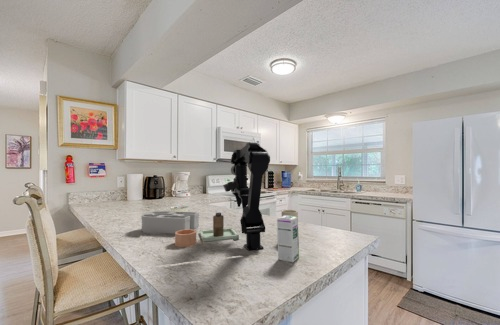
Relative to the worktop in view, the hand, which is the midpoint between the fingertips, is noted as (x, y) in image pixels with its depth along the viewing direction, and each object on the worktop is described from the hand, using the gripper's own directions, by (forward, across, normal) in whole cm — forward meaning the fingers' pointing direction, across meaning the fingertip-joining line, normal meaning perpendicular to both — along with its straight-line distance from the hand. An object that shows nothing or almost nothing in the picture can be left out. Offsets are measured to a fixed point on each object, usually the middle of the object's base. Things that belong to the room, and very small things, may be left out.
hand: (241, 208), depth 110 cm
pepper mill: (+12, -1, -11) cm, 16 cm away
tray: (+13, -1, -11) cm, 17 cm away
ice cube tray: (+14, -23, -34) cm, 43 cm away
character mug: (+13, +15, +18) cm, 27 cm away
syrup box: (+13, +33, +8) cm, 36 cm away
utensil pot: (+13, +6, -26) cm, 30 cm away
